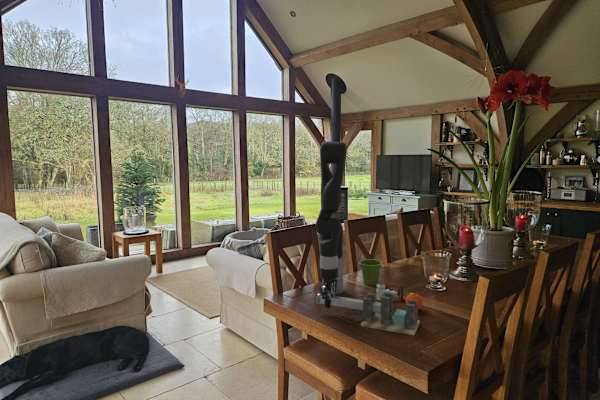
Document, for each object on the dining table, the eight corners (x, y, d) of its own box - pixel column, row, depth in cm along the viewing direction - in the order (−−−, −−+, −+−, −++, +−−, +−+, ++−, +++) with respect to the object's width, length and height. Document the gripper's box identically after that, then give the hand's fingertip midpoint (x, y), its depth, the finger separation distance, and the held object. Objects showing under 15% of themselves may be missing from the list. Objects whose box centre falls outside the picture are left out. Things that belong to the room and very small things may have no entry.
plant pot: (367, 278, 209) (367, 258, 208) (386, 283, 201) (387, 261, 200) (354, 283, 201) (354, 262, 200) (374, 289, 193) (374, 266, 191)
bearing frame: (360, 325, 151) (360, 297, 149) (369, 314, 161) (369, 287, 160) (414, 335, 142) (414, 304, 141) (419, 322, 152) (420, 294, 151)
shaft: (316, 305, 163) (316, 294, 162) (320, 301, 167) (320, 291, 166) (386, 316, 150) (386, 305, 149) (389, 312, 154) (389, 301, 153)
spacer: (393, 313, 148) (404, 315, 146) (397, 309, 152) (407, 310, 150) (393, 325, 148) (404, 327, 147) (396, 320, 153) (407, 322, 151)
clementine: (400, 308, 167) (400, 292, 167) (410, 304, 171) (410, 288, 171) (415, 314, 161) (416, 297, 160) (425, 309, 165) (426, 293, 164)
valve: (375, 301, 176) (403, 303, 173) (375, 287, 176) (403, 288, 173) (376, 296, 183) (402, 298, 180) (376, 282, 182) (403, 284, 179)
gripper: (327, 260, 169) (327, 299, 170) (313, 269, 156) (314, 310, 158) (343, 262, 165) (343, 301, 167) (331, 271, 153) (331, 313, 155)
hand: (329, 306), depth 163 cm, fingers closed on shaft, 3 cm apart
